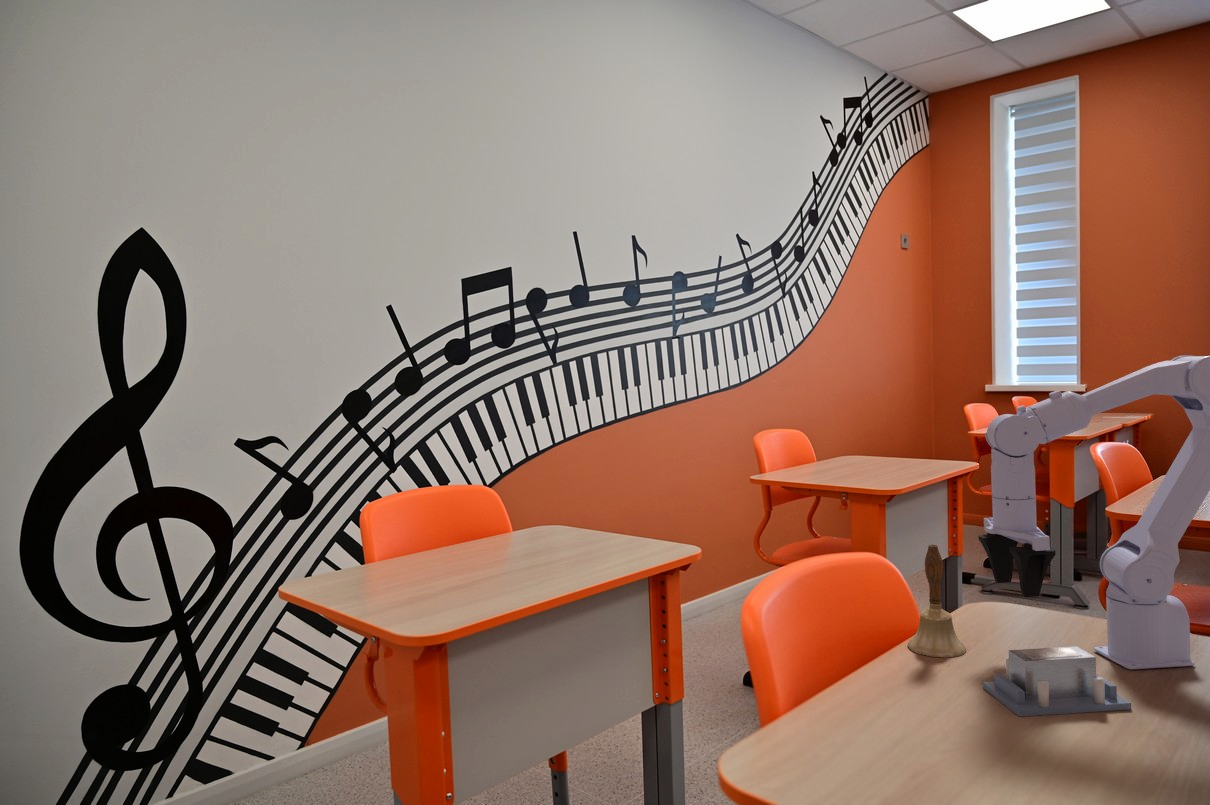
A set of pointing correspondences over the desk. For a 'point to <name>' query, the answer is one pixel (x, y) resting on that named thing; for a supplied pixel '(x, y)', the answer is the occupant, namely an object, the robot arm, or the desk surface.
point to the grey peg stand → (1016, 702)
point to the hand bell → (935, 617)
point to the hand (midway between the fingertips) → (1016, 588)
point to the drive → (1053, 671)
